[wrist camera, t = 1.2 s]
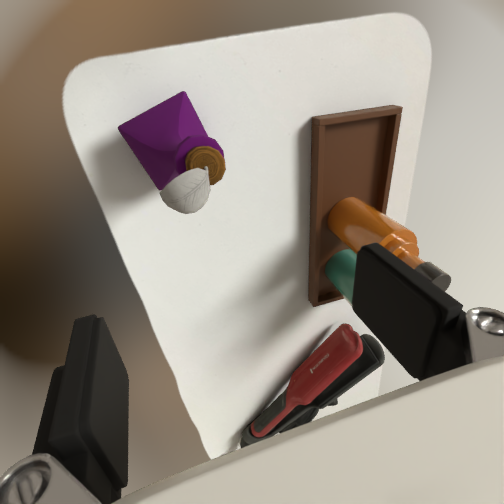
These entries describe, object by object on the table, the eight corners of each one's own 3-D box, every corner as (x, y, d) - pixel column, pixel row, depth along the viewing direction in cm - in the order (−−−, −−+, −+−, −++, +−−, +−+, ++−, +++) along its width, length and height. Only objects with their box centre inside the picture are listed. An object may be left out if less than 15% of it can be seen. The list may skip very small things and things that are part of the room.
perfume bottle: (180, 87, 34) (217, 110, 19) (213, 151, 38) (263, 209, 24) (117, 121, 34) (106, 171, 19) (157, 182, 38) (173, 260, 24)
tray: (311, 116, 40) (319, 119, 38) (392, 104, 42) (402, 106, 41) (308, 300, 56) (313, 307, 54) (367, 283, 58) (373, 290, 57)
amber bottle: (328, 201, 46) (419, 268, 32) (367, 193, 48) (472, 253, 33) (326, 239, 50) (407, 316, 35) (362, 231, 51) (456, 301, 36)
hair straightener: (222, 449, 71) (231, 490, 64) (337, 312, 60) (364, 344, 53) (274, 453, 78) (288, 490, 72) (385, 333, 68) (413, 363, 61)
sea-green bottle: (325, 254, 51) (403, 333, 36) (361, 245, 52) (450, 318, 38) (323, 286, 55) (394, 370, 40) (357, 276, 56) (437, 355, 41)
